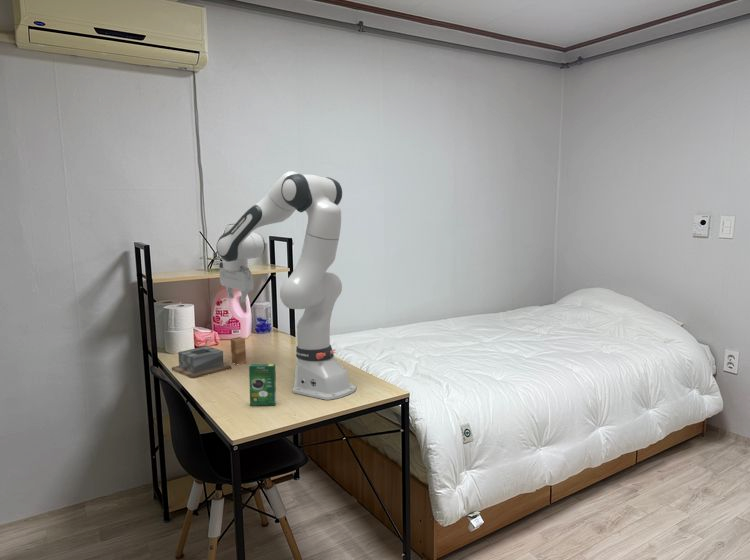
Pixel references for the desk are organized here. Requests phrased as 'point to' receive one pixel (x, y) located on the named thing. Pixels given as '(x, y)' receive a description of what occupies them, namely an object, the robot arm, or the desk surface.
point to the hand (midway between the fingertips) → (236, 299)
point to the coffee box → (262, 384)
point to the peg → (238, 350)
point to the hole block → (200, 362)
